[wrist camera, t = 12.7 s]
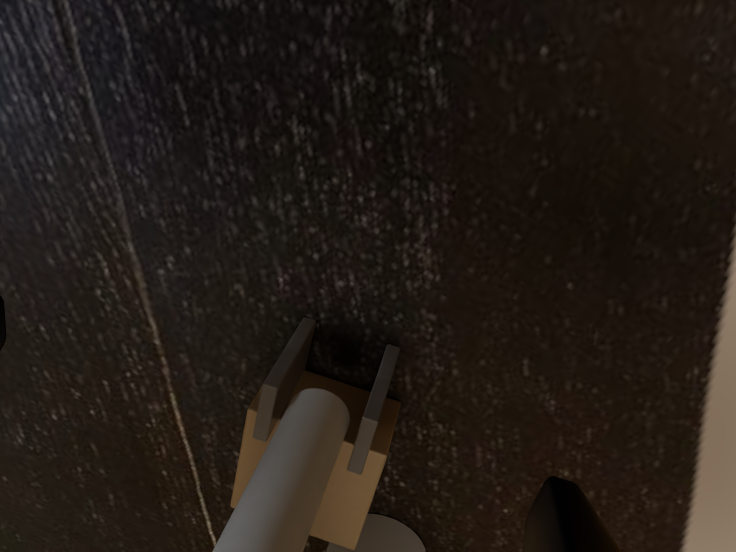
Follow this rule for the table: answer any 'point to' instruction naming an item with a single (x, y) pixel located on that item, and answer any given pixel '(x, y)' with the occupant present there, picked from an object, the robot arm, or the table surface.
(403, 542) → the tube
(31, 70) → the table surface
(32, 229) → the table surface
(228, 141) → the table surface
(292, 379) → the tan block with prongs
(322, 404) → the marker
